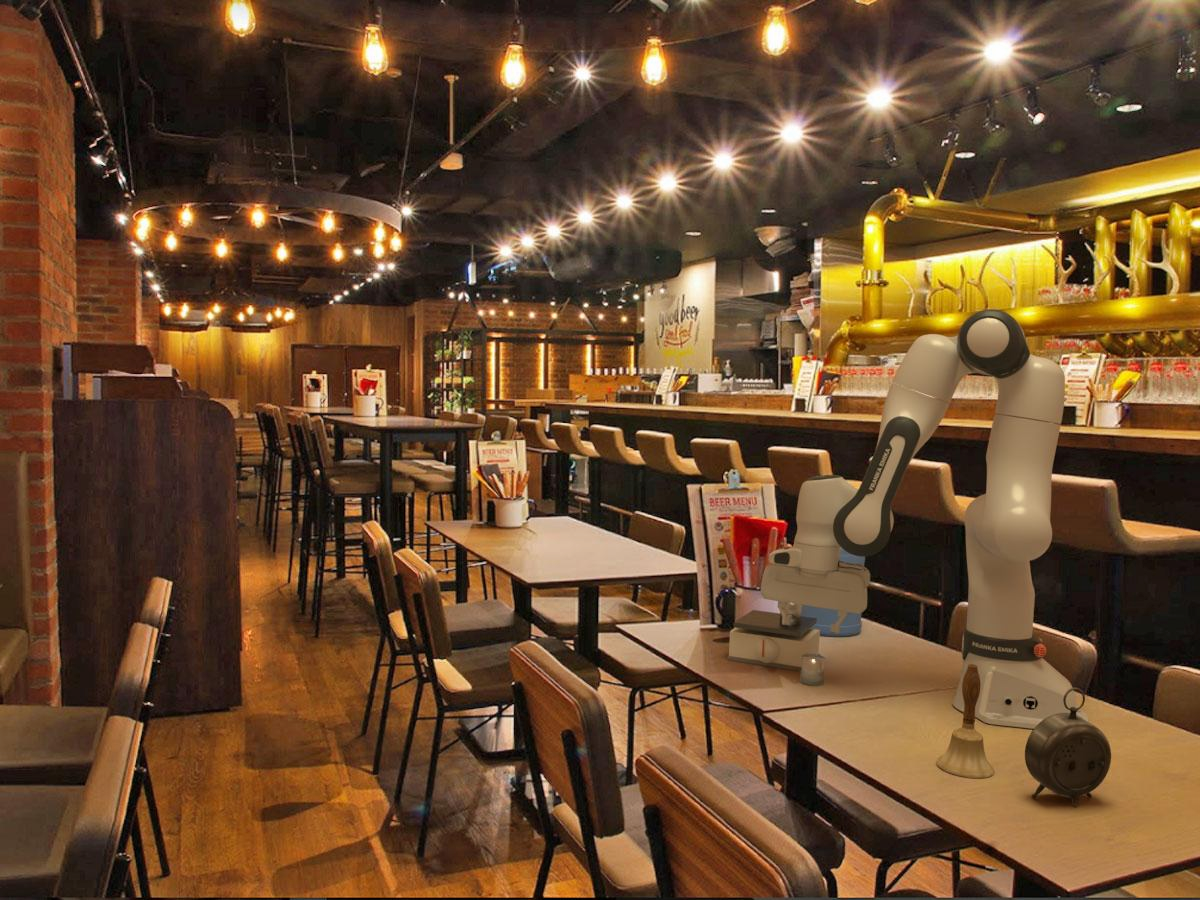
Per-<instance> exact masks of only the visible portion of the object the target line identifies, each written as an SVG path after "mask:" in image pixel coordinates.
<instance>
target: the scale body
mask: <svg viewBox="0 0 1200 900" xmlns="http://www.w3.org/2000/svg"><path fill="white" fill-rule="evenodd" d="M820 636H821V635H820V630H817V629H809V630H808V631H807V632H805V633H804V634H803V635H802V636H801V637H799V636H792V635H785V634H778V633H771V632H763V631H756V630H749V629H742V628H735V627H733V629H731V630H730V631H729V647H728V649H729V650H728V654H727V656H726V660H727V661H733V662H740V663H744V664H745V663H746V664H752V665H759V666H765V667H771V668H779V669H785V670H791V671H798V672H801V664H802V655H804V654H816V655H820V656H821V653H819V652H820Z"/></svg>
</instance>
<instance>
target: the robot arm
mask: <svg viewBox="0 0 1200 900" xmlns="http://www.w3.org/2000/svg"><path fill="white" fill-rule="evenodd" d="M1065 375H1066V374H1065V371H1064V369H1063V368H1062V367H1061V366H1060V365H1059V364H1058V363H1057V362H1055V361H1053V360H1051V359H1049V358H1045V357H1042V356H1038V355H1037V356H1036V355H1034V354H1031V352H1030V349H1029V346H1028V343H1027V341H1026V337H1025V333H1024V330H1023V328H1022V326H1021V325H1020V323H1019V322H1018V321H1017V320H1016V319H1015V317H1013V316H1012V315H1011V314H1010V313H1008V312H1005V311H1003V310H999V309H993V308H992V309H991V308H989V309H983V310H980V311H977V312H975V313H973V314H971V315H970V316H969V317H967V319H965V320H964V322H963V323H962V324H961V326H960V327H959V330H958V333H957V335H955V336H951V337H950V336H945V335H942V334H937V333H929V334H924V335H921V336H919V337H918V338H916V339H915V340H914V341H913V343H912V344H911V346H910V347H909V348H908V351H907V352H906V354H905V356H904V357H903V358H902V360H901V363H900V365H899V366H898V368H897V370H896V372H895V375H894V376H893V379H892V381H891V384H890V386H889V389H888V392H887V394H886V397H885V401H884V405H883V408H882V414H881V420H880V427H879V434H878V439H877V443H876V446H875V451H874V452H873V456H872V458H871V460H870V462H869V464H868V467H867V470H866V471H865V474H864V477H863V479H862V481H861V484H860V485H859V488H857V487H855V486H853V485H852V484H851V483H850V482H848V481H846V479H845V478H844V477H843V476H841V475H839V474H837V475H836V474H824V475H815V476H812V477H809V478H807V479H806V480H804V482H803V483H802V484H801V485H800V486H801V487H800V489H799V494H798V500H797V507H796V516H795V519H796V520H795V521H796V525H797V530H796V533H795V535H794V536H795V537H794V541H793V543H794V544H793V546H787V547H784V548H779V549H775V550H773V551H772V552H770V553H769V554H768V563H770V564H768V565H766V567H765V568H764V571H763V574H762V579H761V585H760V595H761V597H762V598H763V600H769V601H776V602H777V608H778V611H779V613H781V615H782V625H788V626H790V625H791V623H792V621H791V619H792V615H788V613H787V611H786V608H785V606H787V603H793V604H800V605H806V606H812V607H819V608H825V609H832V610H838V616H841V617H840V618H839V620H838V621H837V622H836V623H835V622H833V623H831V630H830V632H831V633H836V634H838V633H839V632H840V624H841V623H842V621H843V620H844V619H845V617H846V616H847V612H851V613H857V614H860V613H861V614H862V613H864V611H865V610H866V609H867V607H868V587H869V585H870V583H871V572H870V570H869V569H868V568H867V567H866V566H864V567H863V565H861V564H852V563H848V562H842V561H840V551H841V548H842V549H844V550H845V551H846V552H848V553H850V554H852V555H855V556H861V557H865V558H866V557H870V556H873V555H875V554H878V553H879V552H881V551H882V550H883V549H884V548H885V547H886V545H887V544H888V542H889V539H890V538H891V533H892V530H893V528H894V524H895V518H894V513H893V511H892V505H893V502H894V500H895V497H896V494H897V492H898V491H899V488H900V486H901V483H902V480H903V478H904V476H905V474H906V471H907V469H908V467H909V465H910V463H911V462H912V460H913V458H914V457H915V455H916V454H917V453H918V452H919V450H920V449H921V448H922V447H923V446H925V443H927V442H928V441H929V440H930V438H931V437H932V435H933V434H934V433H935V431H936V430H937V429H938V427H939V426H940V425H941V422H942V420H944V417H945V415H946V413H947V411H948V408H949V407H950V404H951V401H952V399H953V396H954V395H955V392H956V390H957V388H958V385H959V384H960V382H961V381H962V380H963V379H964V378H965V377H966V376H974V377H975V376H976V377H990V378H991V377H993V378H994V379H995V381H996V383H997V389H998V390H997V391H998V393H997V394H998V395H997V400H996V406H995V408H994V409H995V411H994V414H993V418H992V419H993V420H992V426H991V430H990V433H989V434H990V435H989V439H988V443H987V449H986V454H985V460H986V461H985V462H986V488H985V489H986V491H985V493H984V494H981V495H979V496H977V497H975V498H974V499H973V500H972V501H970V503H969V504H968V505H967V507H966V509H965V512H964V516H963V517H964V520H963V521H964V527H965V548H966V549H965V550H966V551H965V552H966V553H965V555H966V563H967V565H966V567H967V576H968V577H967V578H968V597H967V609H966V610H967V613H966V615H967V616H966V627H965V628H964V630H963V634H962V643H961V655H962V660H963V661H962V666H961V667H962V668H961V673H960V677H959V681H958V684H957V688H956V691H955V694H954V697H953V700H952V702H951V704H952V706H953V707H954V708H955V709H957V710H958V711H960V712H962V713H964V699H963V694H962V682H963V678H964V675H965V673H966V671H967V668H968V665H969V664H974V665H977V668H978V673H979V676H980V682H981V687H980V694H979V698H978V700H977V703H976V706H975V718H977V719H979V720H980V721H981V722H983V723H986V724H989V725H997V726H1004V727H1005V726H1006V727H1015V728H1024V729H1030V730H1033V729H1034V728H1035V727H1036V726H1037V725H1038V724H1039V723H1040V722H1041V721H1042V720H1044V719H1045V718H1047V717H1049V716H1051V715H1054V714H1058V713H1070V712H1071V711H1070V710H1068V709H1067V708H1066V707H1065V706H1064V701H1063V699H1064V695H1065V693H1066V692H1067V691H1068V690H1069V689H1071V688H1073V686H1072V683H1071V682H1070V681H1069V679H1067V677H1065V676H1064V675H1062V674H1061V672H1059V671H1058V670H1056V668H1054V667H1053V666H1052V665H1051V664H1050V663H1049V662H1047V661H1046V660H1045V659H1044V657H1045V656H1046V653H1047V647H1046V646H1045V643H1044V642H1043V639H1042V638H1038V637H1037V636H1035V635H1033V629H1034V625H1033V624H1034V611H1035V600H1036V599H1035V597H1036V593H1035V587H1034V584H1033V580H1032V573H1031V563H1030V561H1034V560H1036V559H1039V558H1040V557H1041V556H1042V555H1043V554H1044V553H1046V551H1047V550H1048V549H1049V547H1050V545H1051V543H1052V539H1053V529H1052V524H1051V508H1052V480H1053V479H1052V477H1053V465H1054V460H1055V456H1056V450H1057V445H1058V441H1059V440H1058V439H1059V435H1060V430H1061V424H1062V421H1063V415H1064V408H1065V397H1066V396H1065V395H1066V379H1065V378H1066V376H1065ZM851 568H852V569H851ZM863 569H864V570H863ZM1066 705H1067V707H1068V708H1071V707H1076V708H1078V707H1079V706H1077V701H1076V695H1075V690H1073V691H1071V692H1069V693H1068V695H1067V697H1066ZM1076 715H1077V716H1079V717H1081V718H1083V719H1084V720H1086V721H1087V722H1089V723H1090V721H1089V720H1090V719H1089V715H1088V714H1087V712H1086V711H1085V710H1083V709H1082V708H1080V709H1079V710H1078V711H1077V712H1076Z"/></svg>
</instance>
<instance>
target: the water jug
mask: <svg viewBox="0 0 1200 900" xmlns="http://www.w3.org/2000/svg"><path fill="white" fill-rule="evenodd" d="M840 561H842V562H848V563H852V564H861V565H863V567H865V564H866V563H865V561H866V556H865V557H861V556H855V555H852V554H850V553H848V552H846V551H845V550H844V549H842V548H841V551H840ZM851 569H852V568H851ZM863 570H865V569H863ZM801 616H803V617H811V618H817V623H816V624H815V625H813V626H812V627H811V628H810V629H817V630H820V636H822V637H833V638H834V637H835V638H836V637H837V638H838V637H839V638H840V637H841V638H842V637H843V638H844V637H850V636H851V637H852V636H856V635H857V634H859V633H860V632H861V631H862V627H863V623H862V613H860V614H857V613H851V612H847V616H846V617H845V619H844V620H843V621H842V623H841V624H840V632H839V633H838V634H836V633H831V632H830V630H831V623H833V622H835V623H836V622H837V621H838V620H839V618H840V617H841V616H838V610H832V609H825V608H819V607H812V606H806V605H802V613H801Z"/></svg>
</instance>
